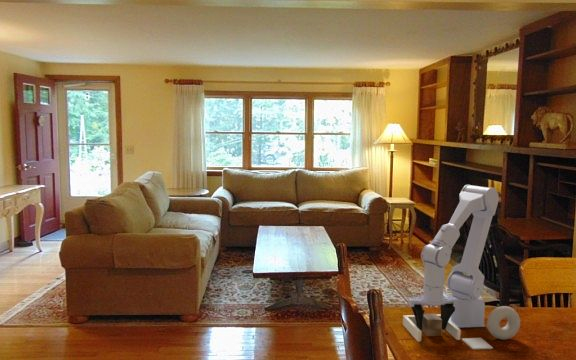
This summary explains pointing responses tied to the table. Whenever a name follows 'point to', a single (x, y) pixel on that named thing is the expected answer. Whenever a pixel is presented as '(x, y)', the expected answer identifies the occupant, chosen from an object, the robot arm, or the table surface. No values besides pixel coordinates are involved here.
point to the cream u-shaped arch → (411, 326)
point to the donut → (512, 322)
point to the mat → (476, 343)
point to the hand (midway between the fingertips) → (431, 328)
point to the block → (431, 325)
